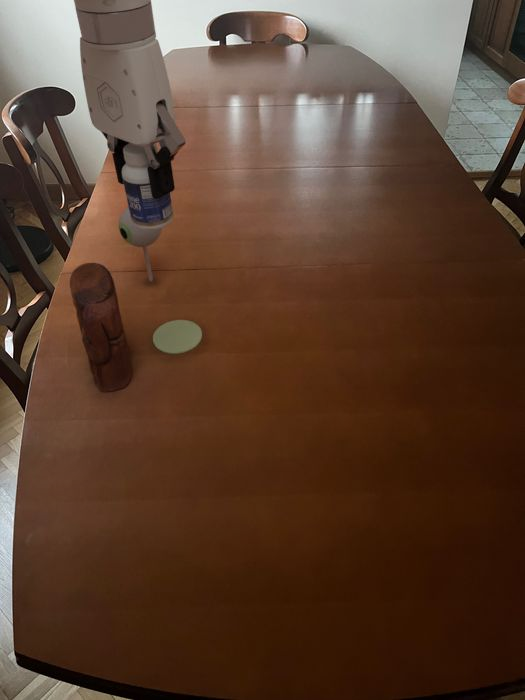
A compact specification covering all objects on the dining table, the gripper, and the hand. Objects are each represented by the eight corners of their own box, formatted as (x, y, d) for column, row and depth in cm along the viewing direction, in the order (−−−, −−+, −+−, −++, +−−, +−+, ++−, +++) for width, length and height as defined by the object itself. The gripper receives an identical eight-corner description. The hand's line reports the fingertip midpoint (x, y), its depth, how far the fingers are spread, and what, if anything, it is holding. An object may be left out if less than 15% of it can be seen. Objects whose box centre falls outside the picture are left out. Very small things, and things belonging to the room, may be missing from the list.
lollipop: (123, 281, 107) (105, 208, 97) (153, 264, 111) (139, 191, 101) (148, 297, 104) (132, 222, 94) (178, 278, 108) (166, 205, 97)
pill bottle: (126, 216, 77) (110, 144, 70) (165, 205, 78) (153, 134, 72) (139, 235, 73) (124, 161, 67) (180, 224, 75) (169, 150, 68)
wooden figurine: (90, 346, 95) (60, 252, 83) (129, 338, 96) (106, 244, 84) (95, 398, 87) (62, 302, 74) (138, 389, 88) (113, 293, 75)
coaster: (177, 361, 92) (176, 359, 92) (142, 340, 96) (142, 338, 95) (212, 334, 96) (212, 332, 96) (177, 314, 100) (177, 313, 100)
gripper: (37, 20, 62) (78, 179, 75) (146, 48, 54) (172, 221, 66) (93, 4, 66) (124, 157, 79) (203, 28, 58) (218, 195, 70)
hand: (146, 185), depth 72 cm, fingers closed on pill bottle, 5 cm apart
